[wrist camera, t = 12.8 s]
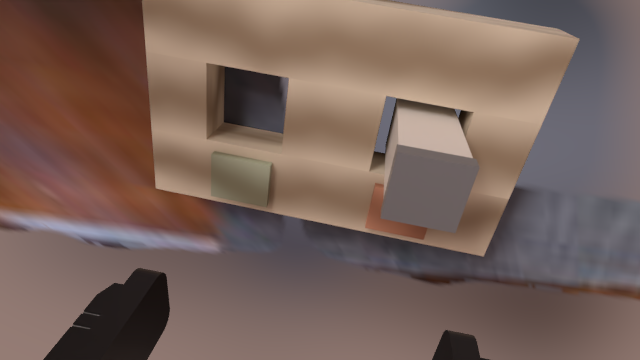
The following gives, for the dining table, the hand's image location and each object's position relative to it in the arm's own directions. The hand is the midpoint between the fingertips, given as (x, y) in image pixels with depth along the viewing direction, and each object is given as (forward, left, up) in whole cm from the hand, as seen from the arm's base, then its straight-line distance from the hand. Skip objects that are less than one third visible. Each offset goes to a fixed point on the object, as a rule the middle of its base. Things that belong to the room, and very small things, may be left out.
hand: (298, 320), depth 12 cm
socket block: (+1, -1, -21) cm, 21 cm away
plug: (+1, +5, -21) cm, 22 cm away
